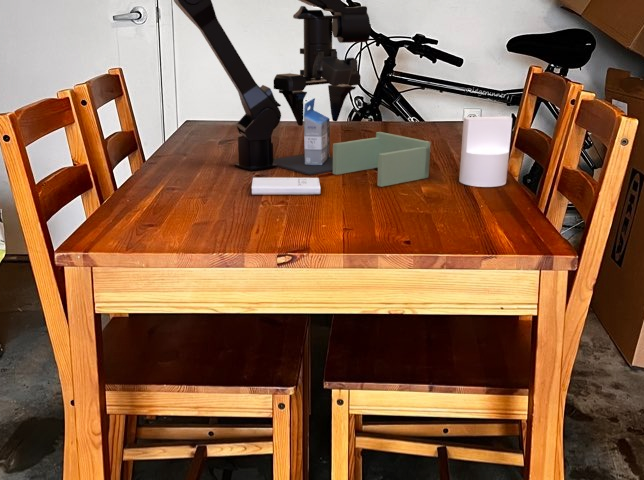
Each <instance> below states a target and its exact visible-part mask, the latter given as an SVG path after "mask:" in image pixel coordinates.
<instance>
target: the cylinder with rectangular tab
mask: <svg viewBox="0 0 644 480" xmlns="http://www.w3.org/2000/svg"><path fill="white" fill-rule="evenodd" d="M512 127H513V117H511V116H508V115H503V116H502V115H500V116H499V115H495V116H493V115H492V116H463V123H462V136H461V149H460V162H459V174H458V175H459V176H458V177H459V178H458V182H459V183H461V184H463V185H466V186H471V187H478V188H480V187H481V188H494V187H502V186H505V185H506V184H507V178H508V169H509V168H508V167H509V160H510V159H509V157H510V147H511V137H512Z"/></svg>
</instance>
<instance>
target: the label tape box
mask: <svg viewBox="0 0 644 480" xmlns="http://www.w3.org/2000/svg"><path fill="white" fill-rule="evenodd" d="M315 100H316V98H312V99H311V100H309V101H306V102H305V103H304V105H303V143H304V144H303V145H304V149H303V151H304V154H305V164H306V165H322V164H323V163H324V162H325V161H326V160H327V159H328V158H329V157H331V155H330V154H331V152H330V151H331V150H330V146H331V145H330V143H331V141H330V140H331V139H330V137H331V136H330V133H331V132H330V130H331V129H330V125H331V124H330V118H329V117H328V116H326V115H324V114H322V113H320V112H318V111H316V110H315V109H314V108H315Z"/></svg>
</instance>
